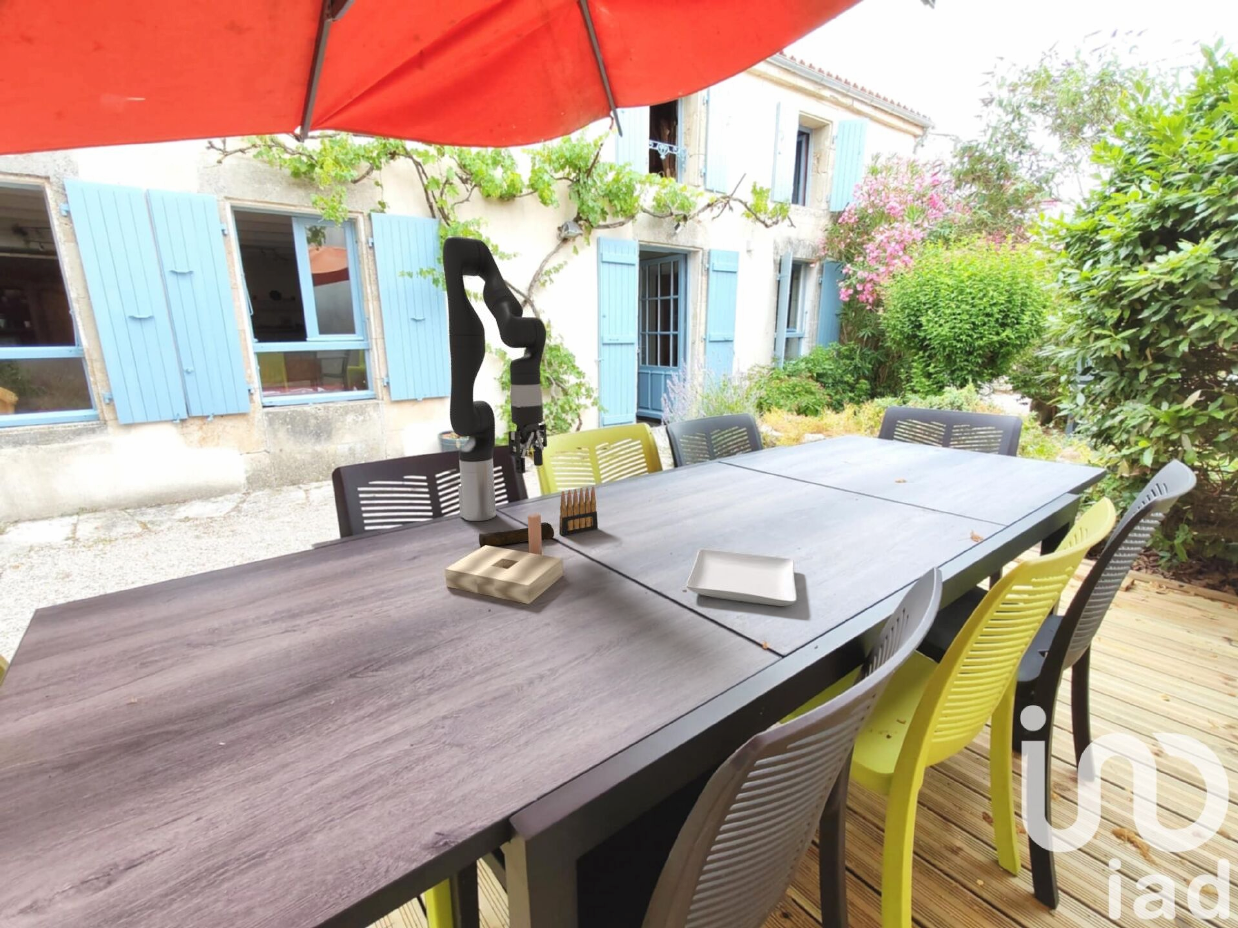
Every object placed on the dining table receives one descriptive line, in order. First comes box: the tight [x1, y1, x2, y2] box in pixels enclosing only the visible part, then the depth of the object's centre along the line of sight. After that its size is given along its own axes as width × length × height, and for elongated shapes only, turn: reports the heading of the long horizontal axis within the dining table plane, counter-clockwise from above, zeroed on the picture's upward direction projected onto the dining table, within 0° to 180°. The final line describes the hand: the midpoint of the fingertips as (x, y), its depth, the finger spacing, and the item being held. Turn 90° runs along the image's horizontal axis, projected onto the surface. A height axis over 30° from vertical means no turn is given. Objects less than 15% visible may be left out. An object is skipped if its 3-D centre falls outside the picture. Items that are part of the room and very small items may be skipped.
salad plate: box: [685, 548, 798, 607], centre depth 115 cm, size 21×21×3 cm
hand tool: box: [478, 522, 555, 549], centre depth 137 cm, size 19×4×5 cm, turn 111°
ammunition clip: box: [558, 485, 599, 537], centre depth 145 cm, size 11×2×12 cm, turn 121°
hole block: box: [444, 545, 564, 605], centre depth 116 cm, size 20×14×4 cm
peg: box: [527, 513, 543, 555], centre depth 129 cm, size 3×3×10 cm
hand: (529, 469), depth 134 cm, fingers open, 8 cm apart
